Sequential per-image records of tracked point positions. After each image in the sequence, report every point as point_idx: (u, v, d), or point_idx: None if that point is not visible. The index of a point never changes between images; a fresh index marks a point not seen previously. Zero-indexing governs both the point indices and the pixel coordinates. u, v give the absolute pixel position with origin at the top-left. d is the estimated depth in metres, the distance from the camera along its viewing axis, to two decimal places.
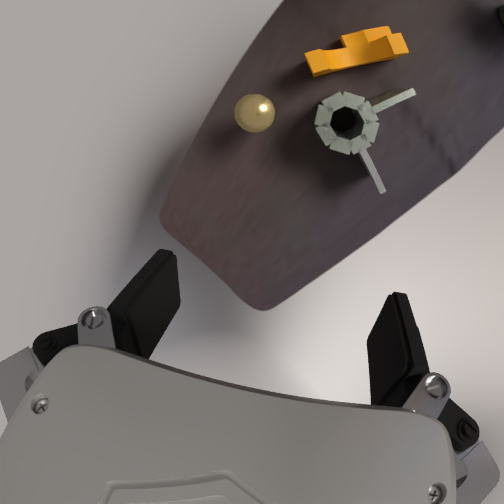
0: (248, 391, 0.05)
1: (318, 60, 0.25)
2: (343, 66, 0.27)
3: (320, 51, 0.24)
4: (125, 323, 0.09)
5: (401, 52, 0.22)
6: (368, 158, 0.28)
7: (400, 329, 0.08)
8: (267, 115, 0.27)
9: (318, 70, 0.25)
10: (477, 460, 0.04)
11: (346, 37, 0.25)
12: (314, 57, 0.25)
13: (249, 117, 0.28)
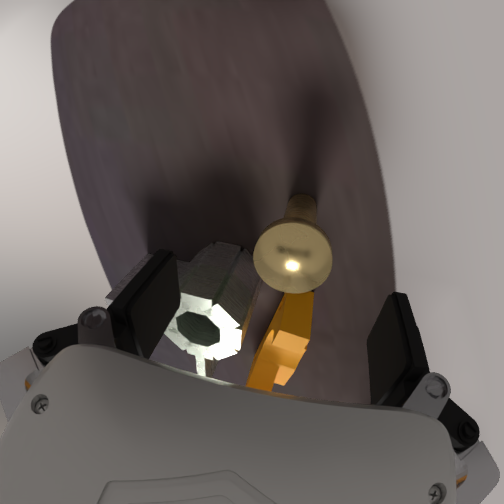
0: (248, 391, 0.05)
1: (289, 343, 0.22)
2: (272, 331, 0.26)
3: (297, 351, 0.22)
4: (125, 323, 0.09)
5: None
6: None
7: (400, 329, 0.08)
8: (272, 273, 0.16)
9: (278, 335, 0.22)
10: (477, 460, 0.04)
11: None
12: (296, 343, 0.22)
13: (292, 250, 0.15)
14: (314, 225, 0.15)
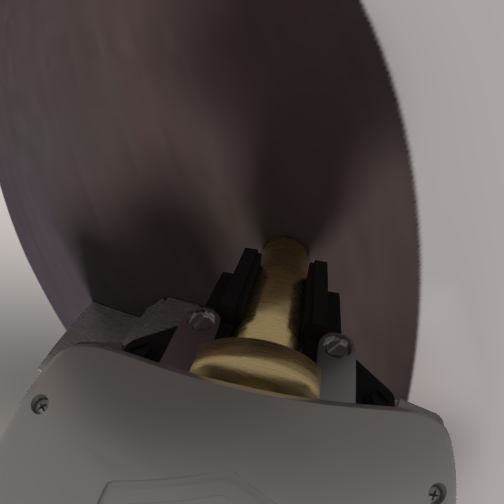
0: (248, 391, 0.05)
1: None
2: None
3: None
4: (232, 322, 0.09)
5: None
6: None
7: (309, 291, 0.10)
8: None
9: None
10: None
11: None
12: None
13: None
14: (293, 358, 0.07)
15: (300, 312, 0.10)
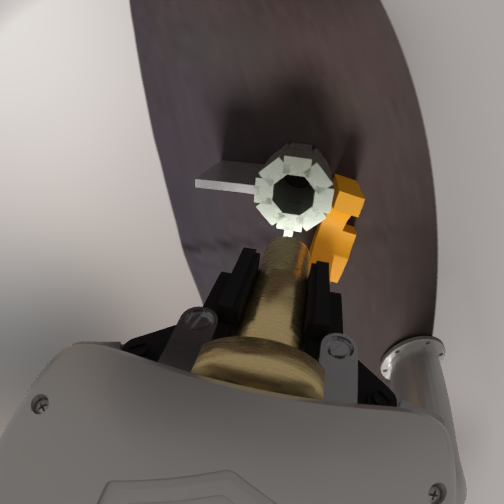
0: (248, 391, 0.05)
1: (348, 205, 0.25)
2: None
3: (355, 214, 0.25)
4: (230, 322, 0.09)
5: None
6: (242, 190, 0.25)
7: (311, 291, 0.10)
8: None
9: (338, 197, 0.25)
10: None
11: (351, 238, 0.31)
12: (354, 204, 0.25)
13: None
14: (296, 357, 0.07)
15: (302, 311, 0.10)
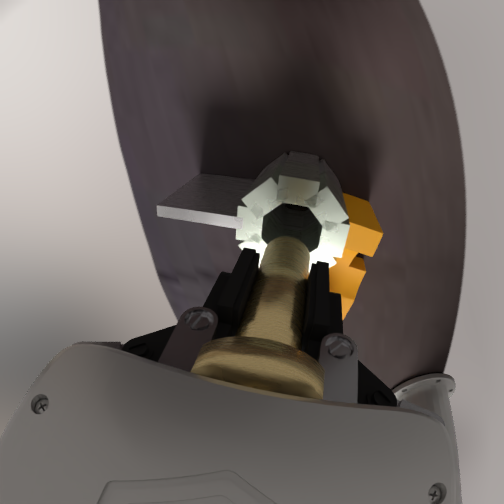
0: (248, 391, 0.05)
1: (360, 241, 0.18)
2: None
3: (369, 253, 0.18)
4: (230, 322, 0.09)
5: None
6: (219, 222, 0.18)
7: (311, 291, 0.10)
8: None
9: None
10: None
11: (359, 275, 0.24)
12: (368, 240, 0.18)
13: None
14: (296, 357, 0.07)
15: (302, 311, 0.10)
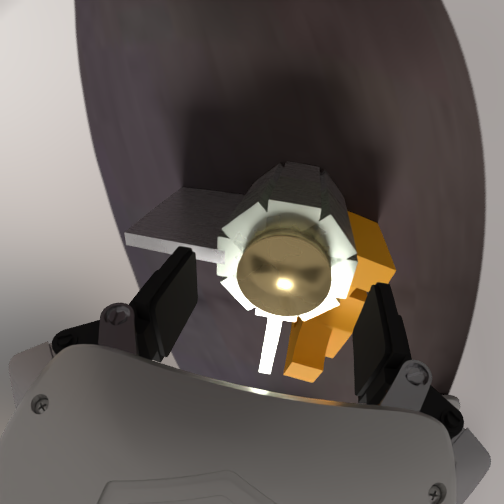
0: (248, 391, 0.05)
1: (367, 278, 0.15)
2: None
3: None
4: (149, 319, 0.09)
5: (289, 368, 0.20)
6: (196, 255, 0.14)
7: (381, 317, 0.09)
8: (259, 294, 0.13)
9: None
10: (465, 447, 0.05)
11: (360, 306, 0.21)
12: (377, 277, 0.15)
13: (283, 268, 0.12)
14: (310, 238, 0.12)
15: None
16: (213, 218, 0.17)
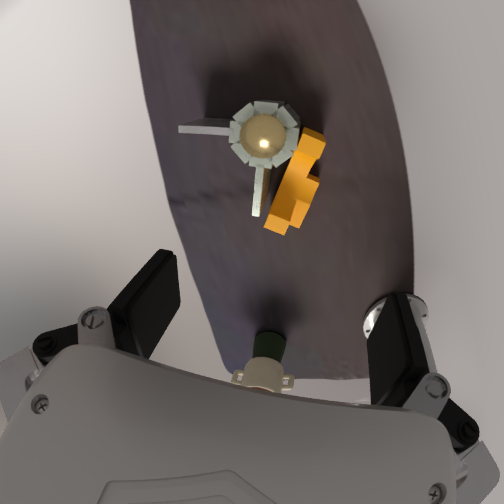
0: (248, 391, 0.05)
1: (310, 147, 0.27)
2: (292, 159, 0.32)
3: (316, 156, 0.28)
4: (125, 323, 0.09)
5: (267, 220, 0.33)
6: (218, 132, 0.27)
7: (400, 329, 0.08)
8: (250, 145, 0.26)
9: (301, 139, 0.27)
10: (477, 460, 0.04)
11: (314, 185, 0.33)
12: (315, 146, 0.27)
13: (261, 129, 0.25)
14: (273, 116, 0.24)
15: None
16: (226, 123, 0.29)
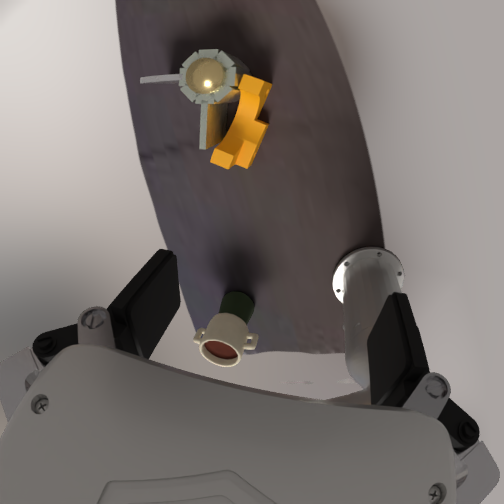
0: (248, 391, 0.05)
1: (250, 85, 0.28)
2: (240, 103, 0.33)
3: (256, 93, 0.28)
4: (125, 323, 0.09)
5: (213, 155, 0.33)
6: (170, 78, 0.28)
7: (400, 329, 0.08)
8: (194, 84, 0.27)
9: (242, 79, 0.28)
10: (477, 460, 0.04)
11: (261, 127, 0.34)
12: (255, 84, 0.28)
13: (203, 69, 0.26)
14: None
15: None
16: None
